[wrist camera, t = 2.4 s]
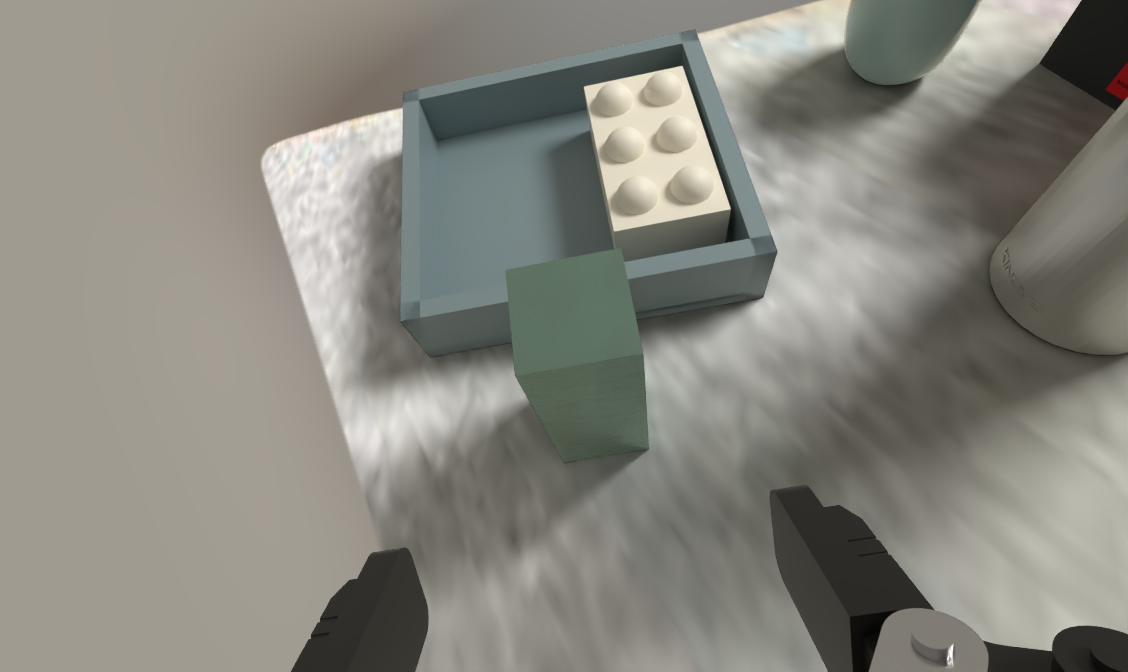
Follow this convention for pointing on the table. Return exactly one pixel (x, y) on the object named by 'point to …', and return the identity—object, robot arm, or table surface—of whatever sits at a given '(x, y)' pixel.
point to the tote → (549, 195)
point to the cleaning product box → (1094, 50)
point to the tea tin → (580, 353)
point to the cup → (903, 36)
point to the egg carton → (655, 165)
